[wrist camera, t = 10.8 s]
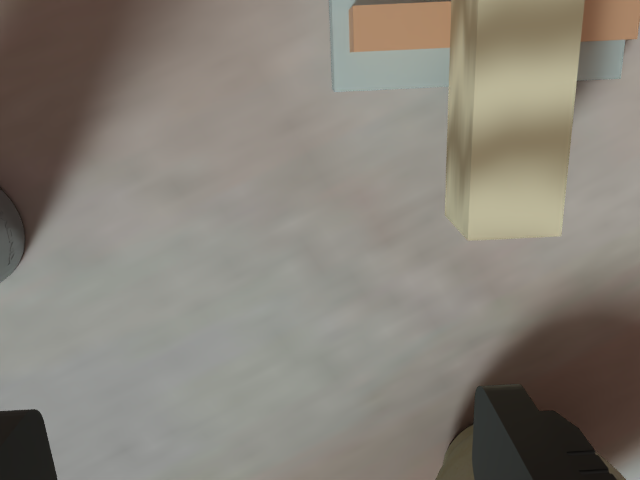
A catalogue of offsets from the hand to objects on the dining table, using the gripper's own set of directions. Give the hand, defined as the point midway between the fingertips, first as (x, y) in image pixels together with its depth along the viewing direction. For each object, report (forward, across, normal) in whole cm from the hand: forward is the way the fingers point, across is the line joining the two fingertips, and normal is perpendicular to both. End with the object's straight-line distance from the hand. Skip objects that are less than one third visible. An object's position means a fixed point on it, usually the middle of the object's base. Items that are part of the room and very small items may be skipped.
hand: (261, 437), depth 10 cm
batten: (+24, -12, -8) cm, 28 cm away
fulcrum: (+30, -12, -8) cm, 33 cm away
